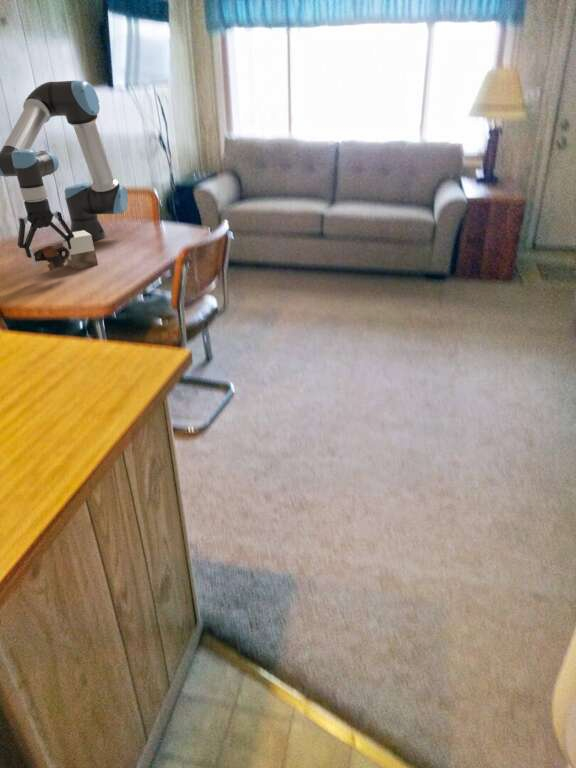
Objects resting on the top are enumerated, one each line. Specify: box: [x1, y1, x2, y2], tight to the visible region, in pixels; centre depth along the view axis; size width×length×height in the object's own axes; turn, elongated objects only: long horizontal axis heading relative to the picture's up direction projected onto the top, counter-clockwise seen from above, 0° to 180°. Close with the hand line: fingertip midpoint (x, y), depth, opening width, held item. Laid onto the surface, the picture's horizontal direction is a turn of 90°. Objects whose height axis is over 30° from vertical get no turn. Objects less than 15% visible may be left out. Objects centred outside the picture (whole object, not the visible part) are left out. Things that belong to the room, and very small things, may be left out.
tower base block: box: [66, 249, 99, 271], centre depth 212 cm, size 9×9×6 cm
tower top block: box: [60, 230, 95, 255], centre depth 209 cm, size 9×9×6 cm
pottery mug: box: [33, 245, 70, 272], centre depth 194 cm, size 12×10×8 cm
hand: (52, 262), depth 195 cm, fingers closed on pottery mug, 11 cm apart
